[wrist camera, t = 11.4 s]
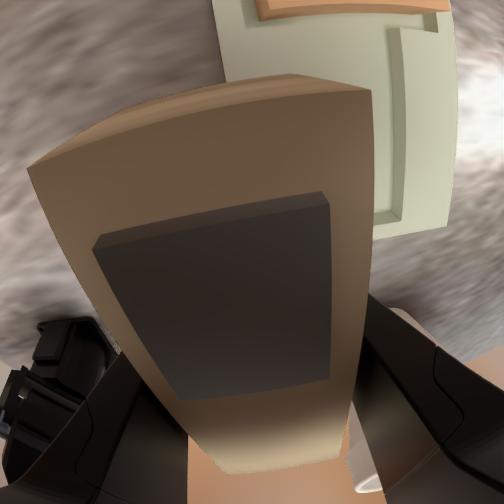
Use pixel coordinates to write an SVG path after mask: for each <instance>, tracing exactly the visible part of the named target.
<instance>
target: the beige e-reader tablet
mask: <svg viewBox="0 0 504 504" xmlns="http://www.w3.org/2000/svg"><path fill="white" fill-rule="evenodd" d="M27 171H28V174H29V176H30V179H31V182H32V184H33V187H34V189H35V192H36V194H37V196H38V199H39V201H40V204H41V206H42V208H43V210H44V213H45V215H46V217H47V219H48V222H49V224H50V226H51V228H52V230H53V232H54V234H55V236H56V239H57V241H58V243H59V245H60V247H61V249H62V251H63V253H64V255H65V256H66V258H67V260H68V262H69V264H70V266H71V268H72V270H73V272H74V273H75V275H76V277H77V279H78V281H79V282H80V284H81V286H82V288H83V289H84V291H85V293H86V295H87V296H88V298H89V300H90V301H91V303H92V305H93V306H94V308H95V310H96V311H97V313H98V315H99V316H100V318H101V319H102V321H103V322H104V324H105V326H106V327H107V329H108V330H109V332H110V333H111V335H112V336H113V338H114V339H115V341H116V342H117V344H118V345H119V347H120V348H121V350H122V351H123V353H124V354H125V355H126V357H127V358H128V360H129V361H130V362H131V364H132V365H133V367H134V368H135V369H136V371H137V372H138V373H139V375H140V376H141V377H142V379H143V380H144V381H145V383H146V384H147V385H148V387H149V388H150V389H151V390H152V392H153V393H154V394H155V396H156V397H157V398H158V399H159V401H160V402H161V403H162V404H163V405H164V407H165V408H166V409H167V410H168V412H169V413H170V414H171V415H172V416H173V417H174V419H175V420H176V421H177V422H178V423H179V424H180V426H181V427H182V428H183V429H184V430H185V431H186V432H187V434H188V435H189V436H190V437H191V438H192V439H193V440H194V441H195V442H196V443H197V444H198V445H199V447H200V448H201V449H202V450H203V451H204V452H205V453H206V454H207V455H208V456H209V457H210V458H211V459H212V460H213V461H214V462H215V463H216V464H217V465H218V466H219V467H220V468H221V469H222V470H223V471H224V472H225V473H226V474H227V475H232V474H244V473H254V472H263V471H271V470H278V469H284V468H291V467H296V466H302V465H307V464H312V463H317V462H322V461H327V460H331V459H335V458H338V456H339V452H340V448H341V444H342V440H343V436H344V432H345V428H346V423H347V419H348V415H349V410H350V406H351V401H352V396H353V391H354V386H355V380H356V375H357V369H358V364H359V358H360V351H361V345H362V338H363V331H364V324H365V316H366V308H367V299H368V290H369V280H370V268H371V256H372V240H373V221H374V179H375V167H374V126H373V107H372V92H371V90H370V89H366V88H362V87H358V86H354V85H350V84H345V83H341V82H336V81H332V80H327V79H322V78H316V77H311V76H305V75H299V74H293V73H287V74H278V75H270V76H263V77H256V78H250V79H244V80H238V81H232V82H227V83H221V84H216V85H211V86H207V87H202V88H197V89H193V90H189V91H185V92H181V93H177V94H173V95H169V96H165V97H161V98H158V99H154V100H151V101H147V102H144V103H140V104H137V105H134V106H131V107H128V108H125V109H123V110H121V111H119V112H117V113H115V114H114V115H112V116H110V117H108V118H106V119H104V120H102V121H101V122H99V123H97V124H95V125H94V126H92V127H90V128H88V129H87V130H85V131H83V132H82V133H80V134H78V135H77V136H75V137H73V138H72V139H70V140H68V141H67V142H65V143H64V144H62V145H61V146H59V147H57V148H56V149H54V150H53V151H51V152H50V153H48V154H47V155H45V156H44V157H42V158H41V159H40V160H38V161H37V162H35V163H34V164H32V165H31V166H30V167H28V168H27Z"/></svg>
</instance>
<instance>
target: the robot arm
mask: <svg viewBox="0 0 504 504" xmlns="http://www.w3.org/2000/svg"><path fill="white" fill-rule="evenodd" d="M89 323H90V324H89ZM37 330H38V331H39V332H40V334H41V337H40V340H39V342H38V344H37V346H36V349H35V351H34V353H33V356H32V359H33V361H34V362H33V365H32V367H31V370H30V371H29V370H28V368H26V367H25V366H23V365H22V368H21V370H20V371H19V370H11V372H10V375H9V377H8V379H7V382H6V384H5V387H4V389H3V392H2V394H1V396H0V437H1V438H3V439H5V440H6V442H5V446H4V449H3V454H2V466H3V469H4V472H5V476H6V479H7V482H8V485H7V486H5V487H2V488H0V504H187V467H188V434H187V432H186V431H185V430H184V429H183V428H182V427H181V426H180V424H179V423H178V422H177V421H176V420H175V419H174V417H173V416H172V415H171V414H170V413H169V412H168V410H167V409H166V408H165V407H164V405H163V404H162V403H161V402H160V401H159V399H158V398H157V397H156V396H155V394H154V393H153V392H152V390H151V389H150V388H149V387H148V385H147V384H146V383H145V381H144V380H143V379H142V377H141V376H140V375H139V373H138V372H137V371H136V369H135V368H134V367H133V365H132V364H131V362H130V361H129V360H128V358H127V357H126V355H125V354H124V353H123V351H121V352H120V354H119V355H118V356H117V354H116V353H115V351H114V350H113V348H112V347H111V345H110V344H109V342H108V341H107V339H106V338H105V336H104V335H103V333H102V332H101V330H100V328H99V327H98V325H97V324H96V322H95V321H94V320H93V319H92V318H89V317H87V318H78V319H70V320H61V321H51V322H42V323H39V324H38V326H37ZM18 395H20V396H22V397H24V399H22V398H20V397H19V396H18ZM352 402H353V405H354V408H355V410H356V413H357V416H358V419H359V422H360V424H361V427H362V430H363V433H364V436H365V438H366V441H367V444H368V447H369V450H370V453H371V456H372V459H373V462H374V465H375V468H376V471H377V474H378V477H379V480H380V483H381V486H382V489H383V492H384V494H385V498H386V502H387V504H504V391H503V390H501V389H500V388H498V387H497V386H495V385H494V384H492V383H491V382H489V381H487V380H486V379H484V378H482V377H481V376H480V375H478V374H477V373H475V372H473V371H472V370H470V369H469V368H468V367H466V366H464V365H463V364H462V363H461V362H459V361H458V360H457V359H455V358H454V357H453V356H451V355H450V354H449V353H447V352H446V351H445V350H443V349H442V348H441V347H440V346H436V344H435V343H434V342H433V341H432V340H430V339H429V338H428V337H426V336H425V335H424V334H423V333H421V332H420V331H419V330H417V329H416V328H415V327H413V326H412V325H411V324H409V323H408V322H407V321H405V320H404V319H403V318H401V317H400V316H399V315H397V314H396V313H395V312H393V311H392V310H391V309H389V308H388V307H387V306H385V305H384V304H383V303H381V302H380V301H379V300H377V299H376V298H375V297H373V296H372V295H371V294H369V293H368V299H367V308H366V316H365V324H364V331H363V338H362V345H361V351H360V358H359V364H358V369H357V375H356V380H355V386H354V391H353V396H352Z"/></svg>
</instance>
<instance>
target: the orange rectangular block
mask: <svg viewBox="0 0 504 504" xmlns="http://www.w3.org/2000/svg"><path fill="white" fill-rule="evenodd" d="M254 3H255V7H256V10H257V14H258V18H259V22H262V21H268V20H275V19H282V18H290V17H298V16H308V15H321V14H338V13H391V14H408V15H417V14H426V13H435V12H447V11H451V10H450V6H449V1H448V0H254Z"/></svg>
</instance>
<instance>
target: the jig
mask: <svg viewBox="0 0 504 504" xmlns="http://www.w3.org/2000/svg"><path fill="white" fill-rule="evenodd" d="M211 1H212V6H213V12H214V17H215V23H216V29H217V34H218V40H219V45H220V51H221V56H222V62H223V68H224V73H225V79H226V83H227V82H232V81H238V80H244V79H250V78H256V77H263V76H270V75H278V74H287V73H293V74H299V75H305V76H311V77H316V78H322V79H327V80H332V81H336V82H341V83H345V84H350V85H354V86H358V87H362V88H366V89H370V90H371V92H372V107H373V126H374V167H375V179H374V221H373V240H376V239H381V238H386V237H392V236H397V235H402V234H408V233H413V232H418V231H423V230H429V229H434V228H439V227H444V226H447V220H448V214H449V208H450V201H451V194H452V186H453V178H454V169H455V158H456V144H457V124H458V77H457V58H456V45H455V35H454V26H453V18H452V11H447V12H435V13H426V14H417V15H408V14H391V13H338V14H321V15H308V16H298V17H290V18H282V19H275V20H268V21H262V22H259V18H258V14H257V10H256V7H255V3H254V0H211ZM448 1H449V6H450V10H451V5H450V0H448Z"/></svg>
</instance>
